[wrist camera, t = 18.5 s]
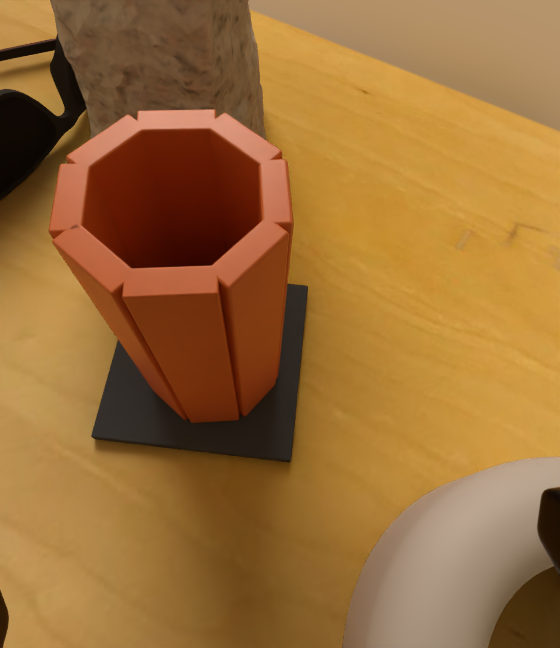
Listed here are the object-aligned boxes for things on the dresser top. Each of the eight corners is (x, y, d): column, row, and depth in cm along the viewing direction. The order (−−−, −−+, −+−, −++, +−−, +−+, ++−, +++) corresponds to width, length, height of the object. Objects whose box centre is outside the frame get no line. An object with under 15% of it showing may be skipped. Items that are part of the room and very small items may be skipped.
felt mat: (290, 462, 22) (291, 460, 21) (94, 439, 22) (90, 436, 21) (307, 290, 25) (308, 285, 25) (140, 271, 26) (138, 266, 25)
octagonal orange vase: (301, 356, 23) (338, 187, 12) (215, 449, 21) (168, 346, 10) (213, 284, 25) (177, 78, 14) (125, 364, 23) (2, 197, 12)
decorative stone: (148, 79, 32) (68, -252, 19) (281, 104, 31) (297, -219, 18) (89, 197, 28) (-70, -126, 14) (243, 228, 27) (225, -78, 14)
